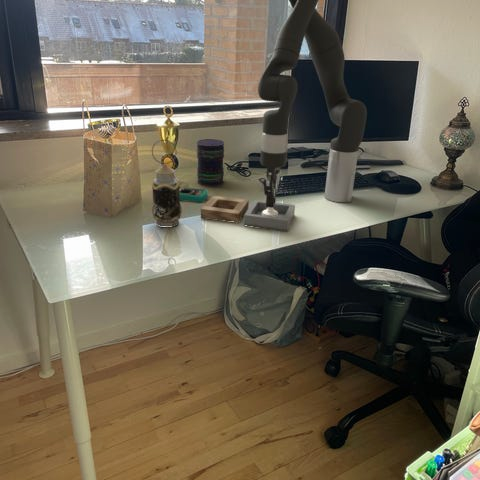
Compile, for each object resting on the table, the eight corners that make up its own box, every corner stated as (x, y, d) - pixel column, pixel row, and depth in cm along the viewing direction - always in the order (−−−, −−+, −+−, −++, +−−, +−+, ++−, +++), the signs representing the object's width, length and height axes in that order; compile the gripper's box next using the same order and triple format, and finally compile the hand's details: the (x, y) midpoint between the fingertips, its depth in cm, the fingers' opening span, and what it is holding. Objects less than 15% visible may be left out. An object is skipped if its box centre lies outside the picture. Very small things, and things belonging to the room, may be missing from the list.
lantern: (151, 229, 132) (146, 143, 121) (153, 218, 139) (148, 136, 129) (181, 228, 133) (179, 143, 122) (182, 217, 140) (180, 136, 129)
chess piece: (273, 219, 136) (275, 187, 132) (258, 215, 139) (260, 183, 134) (281, 213, 140) (283, 182, 136) (266, 210, 142) (268, 179, 138)
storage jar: (195, 178, 174) (194, 139, 168) (220, 177, 176) (221, 138, 170) (199, 187, 166) (199, 146, 159) (226, 185, 168) (226, 145, 161)
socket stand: (248, 208, 148) (248, 200, 147) (238, 223, 138) (238, 213, 136) (213, 204, 151) (213, 195, 150) (200, 217, 141) (200, 208, 139)
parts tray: (294, 215, 144) (295, 204, 143) (286, 231, 133) (287, 220, 132) (254, 210, 147) (254, 199, 146) (243, 225, 136) (244, 215, 135)
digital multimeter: (203, 204, 152) (203, 195, 151) (160, 199, 155) (160, 191, 153) (209, 196, 159) (209, 188, 157) (168, 192, 161) (167, 184, 160)
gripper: (282, 156, 124) (278, 215, 131) (291, 144, 136) (287, 198, 143) (255, 153, 125) (253, 212, 133) (266, 141, 137) (263, 196, 145)
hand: (270, 205), depth 138 cm, fingers closed on chess piece
